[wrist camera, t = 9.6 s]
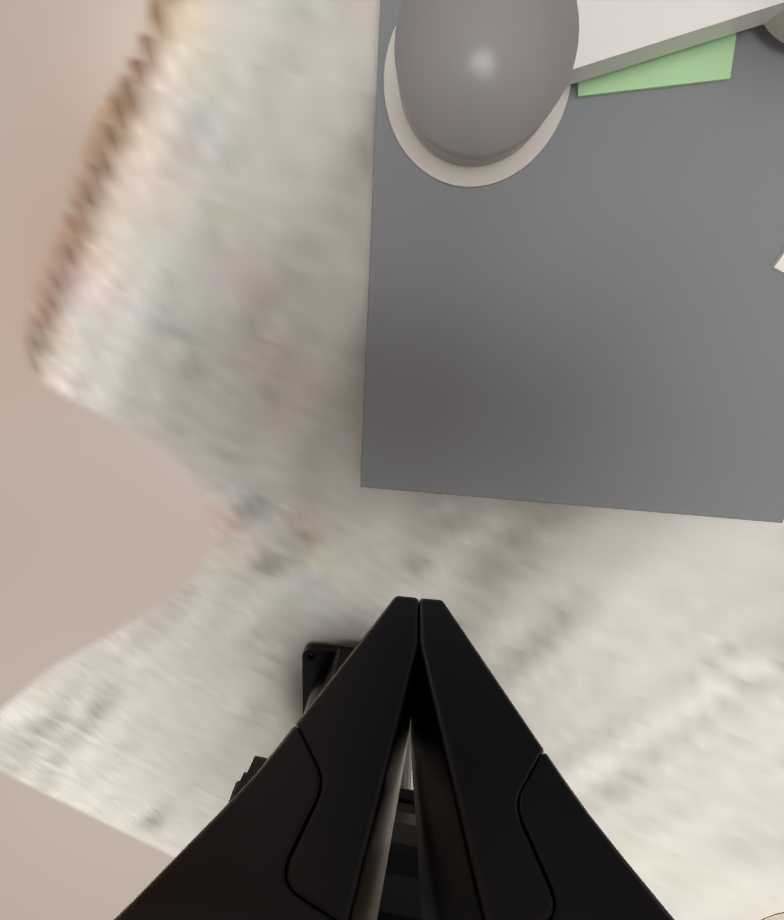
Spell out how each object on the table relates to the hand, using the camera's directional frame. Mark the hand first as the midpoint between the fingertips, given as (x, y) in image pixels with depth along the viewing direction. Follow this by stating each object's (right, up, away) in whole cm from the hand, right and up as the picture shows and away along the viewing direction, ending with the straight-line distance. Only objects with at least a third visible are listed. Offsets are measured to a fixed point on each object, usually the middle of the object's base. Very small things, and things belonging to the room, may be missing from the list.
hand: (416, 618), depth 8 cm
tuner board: (+8, +12, +9) cm, 17 cm away
